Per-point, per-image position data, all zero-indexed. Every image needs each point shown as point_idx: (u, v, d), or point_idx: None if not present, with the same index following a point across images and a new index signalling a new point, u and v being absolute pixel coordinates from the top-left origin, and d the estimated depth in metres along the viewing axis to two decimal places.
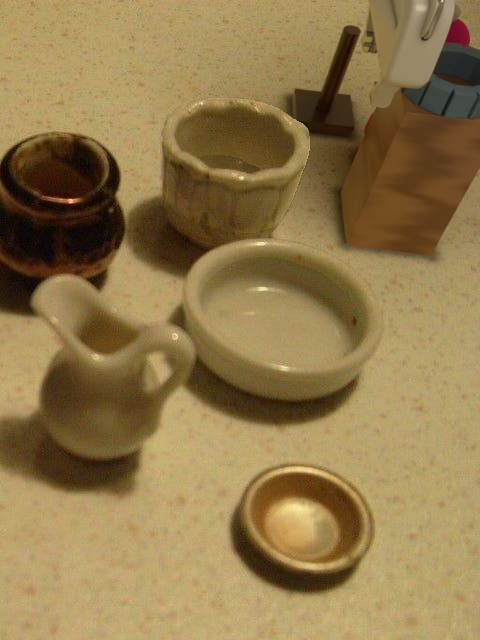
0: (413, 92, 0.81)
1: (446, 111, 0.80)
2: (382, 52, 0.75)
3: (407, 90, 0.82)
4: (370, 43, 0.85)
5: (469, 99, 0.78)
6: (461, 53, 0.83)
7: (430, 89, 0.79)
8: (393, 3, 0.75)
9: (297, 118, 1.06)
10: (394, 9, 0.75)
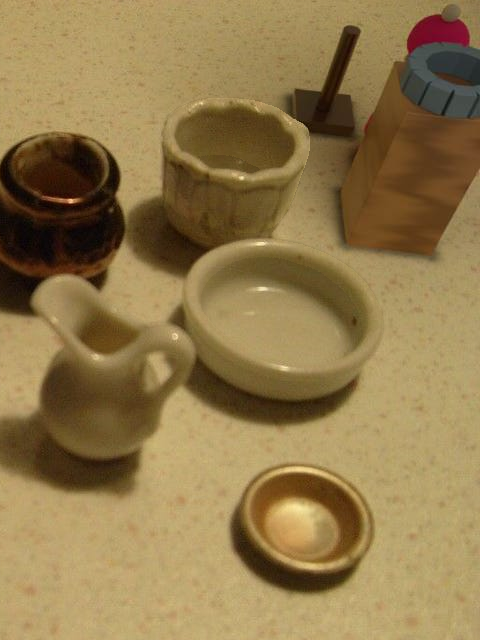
0: (413, 92, 0.81)
1: (446, 111, 0.80)
2: None
3: (407, 90, 0.82)
4: None
5: (469, 99, 0.78)
6: (461, 53, 0.83)
7: (430, 89, 0.79)
8: None
9: (297, 118, 1.06)
10: None
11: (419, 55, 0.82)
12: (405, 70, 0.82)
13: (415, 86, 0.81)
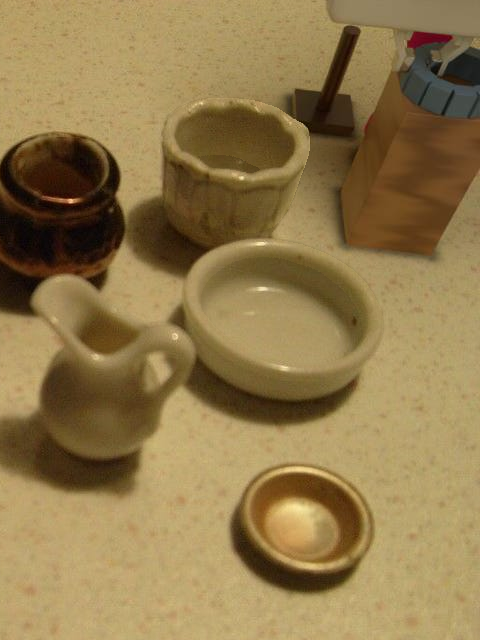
0: (413, 92, 0.81)
1: (446, 111, 0.80)
2: None
3: (407, 90, 0.82)
4: None
5: (469, 99, 0.78)
6: (461, 53, 0.83)
7: (430, 89, 0.79)
8: None
9: (297, 118, 1.06)
10: None
11: (419, 55, 0.82)
12: None
13: (415, 86, 0.81)
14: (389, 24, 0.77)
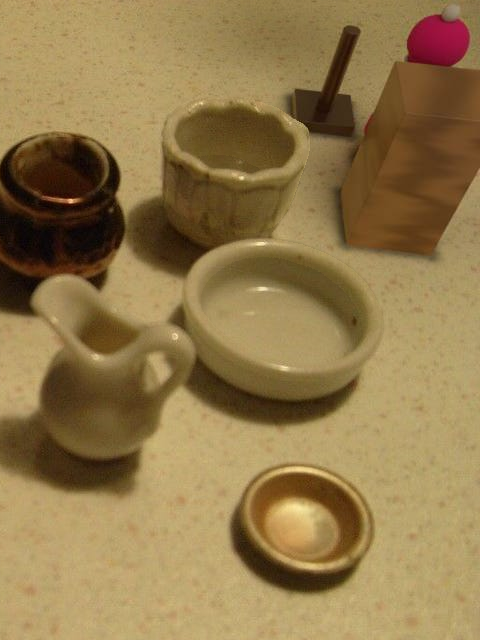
0: None
1: None
2: None
3: None
4: None
5: None
6: None
7: None
8: None
9: (297, 118, 1.06)
10: None
11: None
12: None
13: None
14: None
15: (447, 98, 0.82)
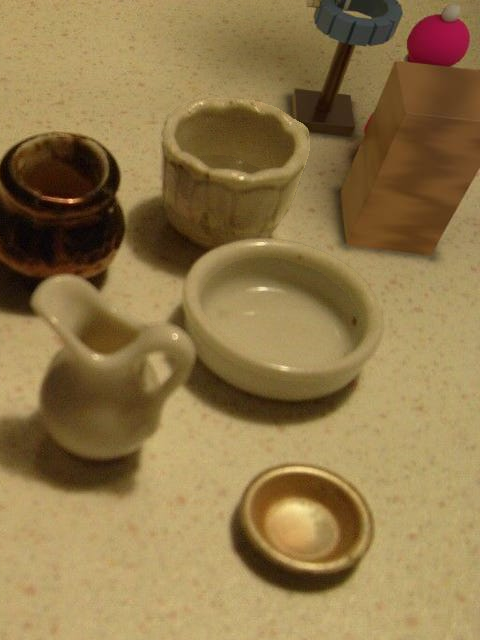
0: (323, 24, 0.97)
1: (350, 39, 0.96)
2: None
3: (319, 23, 0.97)
4: None
5: (368, 29, 0.94)
6: None
7: (336, 21, 0.95)
8: None
9: (297, 118, 1.06)
10: None
11: None
12: None
13: (325, 19, 0.96)
14: None
15: (447, 98, 0.82)
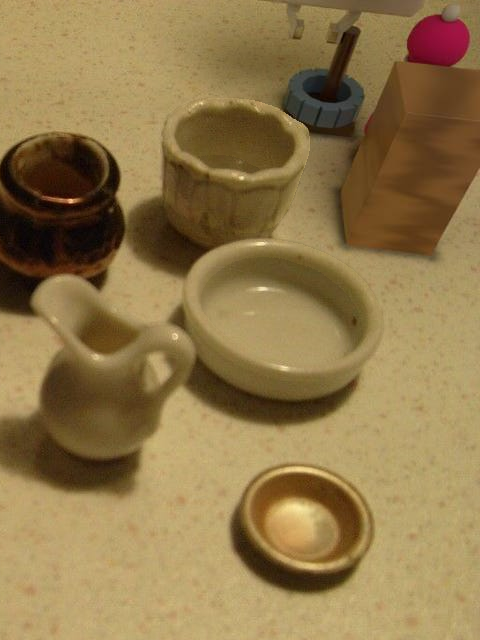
0: (293, 108, 1.06)
1: (317, 122, 1.04)
2: (389, 4, 0.94)
3: (289, 106, 1.06)
4: None
5: (333, 113, 1.03)
6: None
7: (304, 106, 1.04)
8: None
9: (297, 118, 1.06)
10: None
11: (297, 79, 1.07)
12: (287, 91, 1.07)
13: (294, 104, 1.05)
14: (287, 0, 0.96)
15: (447, 98, 0.82)
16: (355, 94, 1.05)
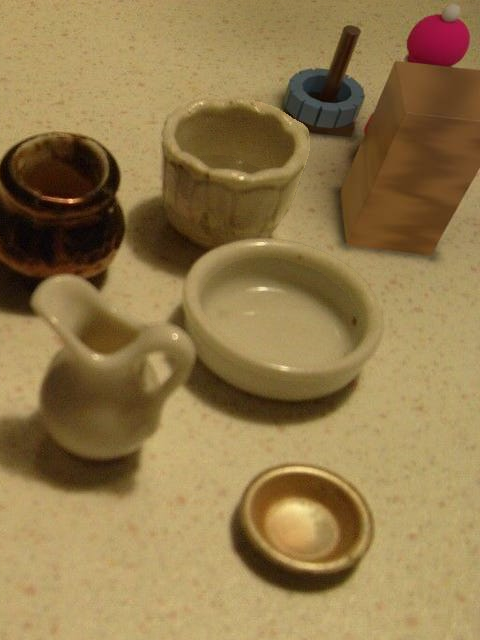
0: (293, 108, 1.06)
1: (317, 122, 1.04)
2: None
3: (289, 106, 1.06)
4: None
5: (333, 113, 1.03)
6: None
7: (304, 106, 1.04)
8: None
9: (297, 118, 1.06)
10: None
11: (297, 79, 1.07)
12: (287, 91, 1.07)
13: (294, 104, 1.05)
14: None
15: (447, 98, 0.82)
16: (355, 94, 1.05)
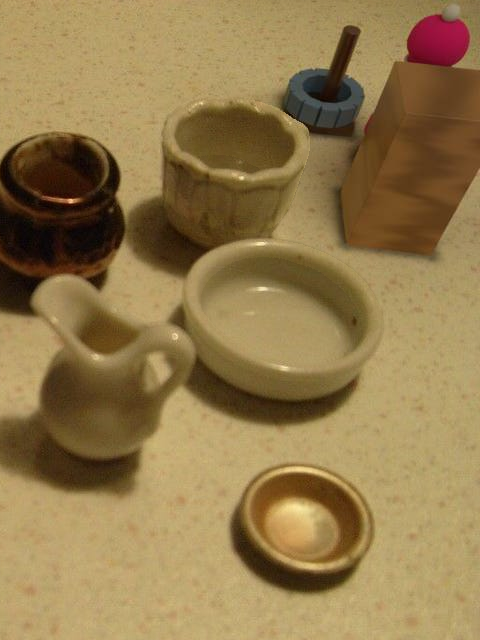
0: (293, 108, 1.06)
1: (317, 122, 1.04)
2: None
3: (289, 106, 1.06)
4: None
5: (333, 113, 1.03)
6: None
7: (304, 106, 1.04)
8: None
9: (297, 118, 1.06)
10: None
11: (297, 79, 1.07)
12: (287, 91, 1.07)
13: (294, 104, 1.05)
14: None
15: (447, 98, 0.82)
16: (355, 94, 1.05)
